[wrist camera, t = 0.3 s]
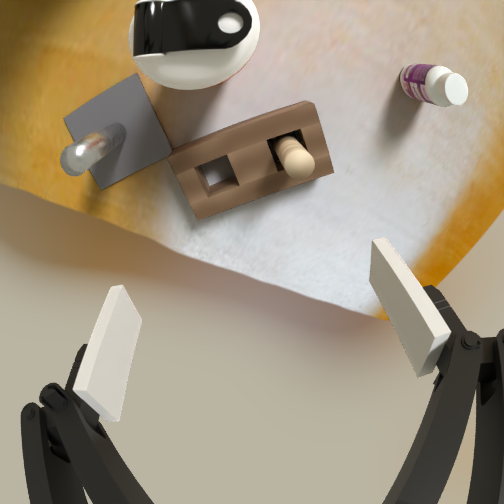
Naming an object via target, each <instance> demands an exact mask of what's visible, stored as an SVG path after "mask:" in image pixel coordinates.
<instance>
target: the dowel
mask: <svg viewBox="0 0 504 504" xmlns="http://www.w3.org/2000/svg"><path fill="white" fill-rule="evenodd" d="M272 146H273V148H274V150H275V152H276V154H277V156H278V157H279V159H280V161H281V163H282V165H283V167H284V169H285V170H286V172H287V174H288V175H289V176H290V177H292V178H294V179H298V180H300V179H305V178H307V177H308V176H310V175H311V174H312V172H313V170H314V167H315V162H314V159H313V157H312V156H311V155H310V154H309V153H308V152H307V150H306V149H305V148H304V147H303V146H302V145H301V144H300V143H299V142H298V141H297V140H296V139H295V138H294V137H293V136H292V135H291V134H290V133H285V134H282V135H279V136H276V137H274V138H273V140H272Z"/></svg>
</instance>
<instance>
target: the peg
mask: <svg viewBox="0 0 504 504" xmlns="http://www.w3.org/2000/svg"><path fill="white" fill-rule="evenodd" d="M125 139H126V129H125V127H124V126H123V125H122V124H120V123H118V122H114V123H111V124H109V125H107V126H105V127H103V128H101V129H99V130H97V131H95V132H93V133H91V134H89V135H87V136H85V137H84V138H82V139H80V140H78V141H76V142H74V143H73V144H71V145H69V146H67V147H66V148H65V149H64V150H63V152H62V154H61V158H60V162H61V166H62V168H63V170H64V171H65V172H66V173H67V174H68V175H70V176H79V175H81V174H83V173H84V172H85V171H86V170H88V169H89V168H90V167H91V166H93V165H94V164H95V163H96V162H98V161H99V160H100V159H102V158H103V157H104V156H105V155H107V154H108V153H109V152H111V151H112V150H114V149H115V148H116V147H118V146H119V145H120V144H122V143H123V142H124V140H125Z"/></svg>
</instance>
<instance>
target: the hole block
mask: <svg viewBox="0 0 504 504" xmlns="http://www.w3.org/2000/svg"><path fill="white" fill-rule="evenodd" d="M295 130H297V133H298V136H299V139H300V142H301V145H302V146H303V147H304V148H305V149H306V150H307V152H308V153H309V154H310V155H311V156H312V157H313V159H314V162H315V167H314V170H313V172H312V174H311V175H310V176H308V177H307V178H305V179H300V180H298V179H294V178H292V177H290V176H289V175H288V174H287V172H286V170H285V169H284V167H283V165H282V163H281V161H277V162H274V160H273V157H272V154H271V151H270V149H269V146H268V143H267V141H266V140H268V139H271V138H273V137H276V136H279V135H282V134H285V133H289V132H292V131H295ZM224 155H227V156H228V158H229V161H230V163H231V166H232V168H233V170H234V173H235V175H236V176H235V177H232V178H230V179H227V180H224V181H222V182H219V183H217V184H214V185H211V186H209V184H208V181H207V179H206V177H205V175H204V173H203V171H202V168H201V166H200V165H201V164H204V163H206V162H209V161H211V160H214V159H216V158H219V157H221V156H224ZM167 160H168V162H169V164H170V166H171V168H172V170H173V172H174V174H175V176H176V178H177V180H178V182H179V184H180V186H181V188H182V190H183V192H184V194H185V196H186V198H187V200H188V202H189V204H190V206H191V208H192V210H193V212H194V214H195V216H196V218H197V220H198V221H199V220H201V219H204V218H207V217H209V216H212V215H214V214H217V213H220V212H222V211H225V210H228V209H231V208H233V207H236V206H239V205H241V204H244V203H247V202H250V201H253V200H255V199H258V198H261V197H264V196H267V195H269V194H272V193H275V192H278V191H281V190H284V189H287V188H290V187H293V186H296V185H298V184H301V183H304V182H307V181H310V180H313V179H316V178H320V177H323V176H326V175H329V174H332V173H334V170H333V166H332V162H331V159H330V155H329V151H328V148H327V144H326V141H325V137H324V134H323V131H322V127H321V124H320V121H319V117H318V114H317V111H316V108H315V105H314V103H311V102H309V101H303V102H299V103H296V104H293V105H289V106H286V107H283V108H280V109H277V110H274V111H271V112H268V113H265V114H262V115H259V116H256V117H253V118H250V119H248V120H245V121H242V122H239V123H237V124H234V125H231V126H229V127H226V128H224V129H221V130H218V131H216V132H213V133H211V134H209V135H206V136H204V137H201V138H199V139H196V140H194V141H192V142H189V143H187V144H185V145H183V146H180V147H178V148H176V149H174V150H172V152H171V153H170V154H169V156H168V157H167Z"/></svg>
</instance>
